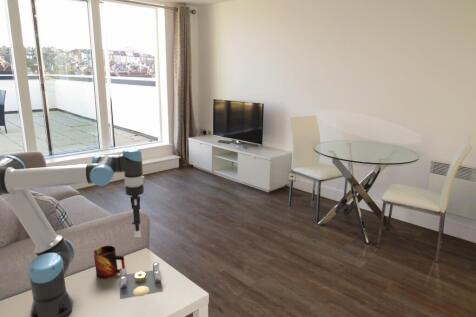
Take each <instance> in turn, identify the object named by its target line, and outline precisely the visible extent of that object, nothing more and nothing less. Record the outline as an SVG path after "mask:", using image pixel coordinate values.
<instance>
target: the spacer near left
mask: <svg viewBox="0 0 476 317" xmlns="http://www.w3.org/2000/svg"><path fill="white" fill-rule="evenodd" d="M118 279H119V290H120V289H126V288H127V278H126V276H121V277H120V276H119V278H118Z"/></svg>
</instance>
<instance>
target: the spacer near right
mask: <svg viewBox="0 0 476 317" xmlns="http://www.w3.org/2000/svg"><path fill="white" fill-rule="evenodd" d="M161 278H162V276H161V270H160V269H159V270H156V271H154V283H160V282H161V283H162V279H161Z"/></svg>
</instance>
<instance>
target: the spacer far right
mask: <svg viewBox="0 0 476 317" xmlns="http://www.w3.org/2000/svg"><path fill="white" fill-rule="evenodd" d="M152 270H153V274H154V271H156V270H159V271H160V262H153V263H152Z"/></svg>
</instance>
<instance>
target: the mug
mask: <svg viewBox="0 0 476 317" xmlns="http://www.w3.org/2000/svg"><path fill="white" fill-rule="evenodd" d="M116 253H117V251H116V247H115V246H113V245H104V246H100V247H98V248H96V249H95V250H94V251H93V258H94V259H93V260H94V267H95V274H96V277H97V278H98V279H103V280H104V279H105V280H106V279H110V278H112V277H115V276H116V275H117V274H120V268H118V262H117V261H121V262H120V263H121V268H122V267H125V268H126V265H125V264H126V262H125V256H122V255H117V254H116Z"/></svg>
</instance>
